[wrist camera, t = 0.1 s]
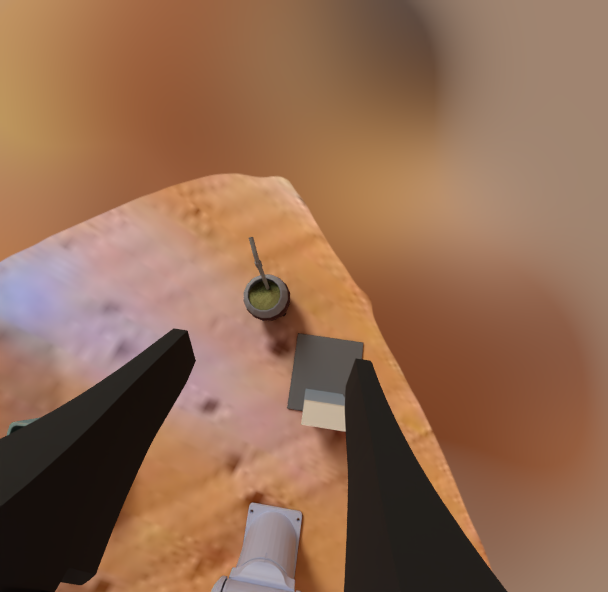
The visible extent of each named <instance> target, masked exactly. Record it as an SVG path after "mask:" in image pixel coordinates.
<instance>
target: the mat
mask: <svg viewBox="0 0 608 592" xmlns="http://www.w3.org/2000/svg"><path fill="white" fill-rule="evenodd" d="M362 351H363V343H362V342H355V341H348V340H341V339H334V338H327V337H320V336H313V335H306V334H299V333H298V338H297V344H296V351H295V358H294V365H293V372H292V379H291V386H290V392H289V399H288V406H287V408H289V409H295V410H301V411H303V404H304V397H305V390H306V389H312V390H318V391H325V392H331V393H338V394H343V396H344V397H345V389H346V384H347V381H348V378H349V375H350V373H351V370H352V367H353V364H354V361H355V359H356V358H357V359H362Z"/></svg>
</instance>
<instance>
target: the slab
mask: <svg viewBox="0 0 608 592" xmlns="http://www.w3.org/2000/svg"><path fill="white" fill-rule="evenodd" d="M301 425H307V426H314V427H320V428H326V429H332V430H338V431H344V432H346V428H345V397H344V396H343V394H338V393H331V392H325V391H318V390H312V389H306V390H305V397H304V404H303V413H302V422H301Z"/></svg>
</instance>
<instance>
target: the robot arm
mask: <svg viewBox="0 0 608 592" xmlns="http://www.w3.org/2000/svg"><path fill="white" fill-rule="evenodd" d="M195 361H196V360H195V356H194V353H193V349H192V345H191V341H190V338H189V334H188V331H186V330H180V329H172V330H171V331H170V332H168V333H167V334H166V335H164V336H163V337H162V338H160V339H159V340H158V341H156V342H155V343H154V344H152V345H151V346H150V347H148V348H147V349H146V350H144V351H143V352H142V353H140V354H139V355H138V356H136V357H135V358H133V359H132V360H131V361H129V362H128V363H127V364H125V365H124V366H122V367H121V368H120V369H118V370H117V371H115V372H114V373H112V374H111V375H109V376H108V377H107V378H105V379H104V380H102V381H101V382H99V383H98V384H96V385H95V386H93V387H92V388H90V389H88V390H87V391H85V392H84V393H82V394H81V395H79V396H77V397H76V398H74V399H72V400H71V401H69V402H67V403H66V404H64V405H62V406H61V407H59V408H57V409H56V410H54V411H52V412H50V413H48V414H47V415H45V416H43V417H41V418H39V419H37V420H35V421H34V422H32V423H30V424H28V425H26V426H24V427H23V428H21V429H19V430H17V431H15V432H13V433H11V434H9V435H7V436H5V437H3V438H1V439H0V592H55V590H56V589H57V587H58V585H59V584H60V582H63V583H69V584H76V585H83V584H84V583H86V582H87V581H89V580H90V579H91V578H92V577H93V576H95V575H96V573H97V570H98V567H99V564H100V562H101V559H102V556H103V554H104V551H105V549H106V546H107V544H108V541H109V538H110V536H111V533H112V531H113V528H114V526H115V523H116V521H117V518H118V516H119V514H120V511H121V509H122V507H123V504H124V502H125V499H126V497H127V495H128V492H129V490H130V488H131V486H132V484H133V481H134V479H135V477H136V475H137V472H138V470H139V468H140V466H141V464H142V462H143V460H144V458H145V455H146V453H147V451H148V449H149V447H150V445H151V443H152V441H153V439H154V438H155V436H156V434H157V432H158V430H159V429H160V427H161V425H162V424H163V422H164V420H165V418H166V417H167V415H168V413H169V412H170V410H171V408H172V407H173V405H174V403H175V401H176V400H177V398H178V396H179V395H180V393H181V391H182V389H183V388H184V386H185V384H186V382H187V380H188V378H189V375H190V373H191V371H192V368H193V366H194V364H195ZM345 428H346V445H347V462H348V511H347V541H346V563H345V583H344V592H507V591H506V589H505V588H504V587H503V586H502V584H501V583H500V582H499V580H498V579H497V577H496V576H495V575H494V573H493V572H492V571H491V570H490V568H489V567H488V566H487V564H486V563H485V561H484V560H483V559H482V557H481V556H480V555H479V553H478V552H477V550H476V549H475V548H474V546H473V545H472V544H471V542H470V541H469V539H468V538H467V537H466V535H465V534H464V532H463V531H462V529H461V528H460V526H459V525H458V523H457V522H456V520H455V519H454V518H453V516H452V515H451V513H450V512H449V510H448V509H447V507H446V506H445V504H444V503H443V501H442V500H441V498H440V497H439V495H438V494H437V492H436V491H435V489H434V487H433V486H432V484H431V482H430V481H429V479H428V478H427V476H426V474H425V473H424V471H423V469H422V468H421V466H420V464H419V463H418V461H417V459H416V457H415V456H414V454H413V452H412V450H411V448H410V447H409V445H408V443H407V441H406V439H405V437H404V435H403V433H402V431H401V429H400V427H399V425H398V423H397V421H396V419H395V417H394V415H393V413H392V411H391V409H390V406H389V404H388V402H387V400H386V398H385V395H384V393H383V390H382V388H381V386H380V383H379V381H378V378H377V375H376V373H375V370H374V367H373V364H372V362H371V361H369V360H363V359H357V358H356V359H355V361H354V364H353V367H352V370H351V373H350V375H349V378H348V381H347V384H346V389H345ZM251 510H253V512H251ZM297 518H299V519H300V520H297ZM301 521H302V513H301V511H297V510H291V509H286V508H280V507H275V506H269V505H263V504H258V503H251V504H250V506H249V511H248V517H247V523H246V530H245V536H244V542H243V548H242V551H241V554H240V557H239V560H238V563H237V566H236V568H234V567H233V568H232V570H231V573H230V576H229V579H227V576H221V577H220V579H219V580H218V581H217V582H216V583H215V584H214V586H213V588H212V591H211V592H294V590H295V580H294V576H295V568H296V561H297V553H298V545H299V537H300V529H301ZM296 592H301V591H298V590H296Z"/></svg>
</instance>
